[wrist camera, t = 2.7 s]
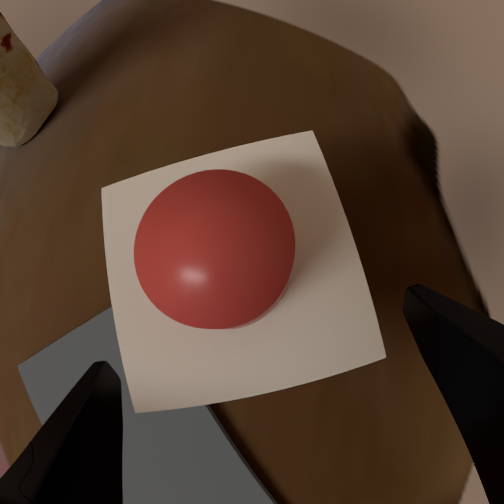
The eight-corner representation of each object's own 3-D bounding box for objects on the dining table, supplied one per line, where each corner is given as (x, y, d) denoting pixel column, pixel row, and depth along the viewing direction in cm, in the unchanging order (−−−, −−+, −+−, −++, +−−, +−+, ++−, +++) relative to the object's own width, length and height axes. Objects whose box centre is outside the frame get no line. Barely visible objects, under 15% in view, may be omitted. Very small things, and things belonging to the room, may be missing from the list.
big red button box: (313, 340, 16) (420, 364, 4) (222, 362, 16) (97, 432, 4) (290, 251, 17) (319, 84, 5) (202, 274, 17) (67, 157, 5)
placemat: (285, 512, 13) (285, 517, 13) (134, 550, 12) (131, 554, 12) (146, 289, 17) (142, 287, 17) (22, 365, 16) (17, 366, 16)
